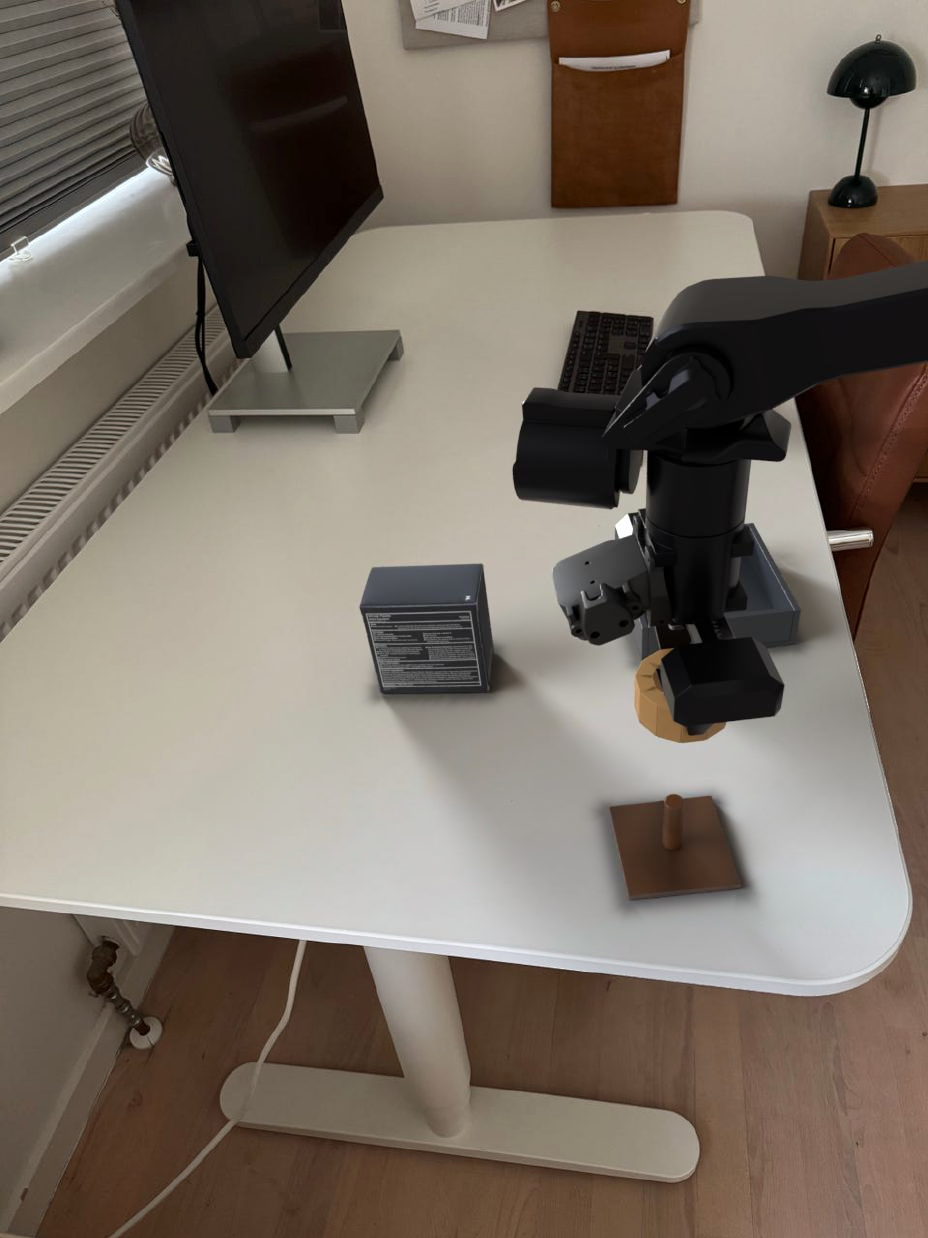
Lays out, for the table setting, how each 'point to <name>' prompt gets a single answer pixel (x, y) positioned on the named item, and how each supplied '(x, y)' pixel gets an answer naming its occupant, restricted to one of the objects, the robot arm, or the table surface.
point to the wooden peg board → (672, 847)
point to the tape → (661, 704)
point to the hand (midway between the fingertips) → (682, 698)
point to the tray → (748, 605)
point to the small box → (429, 628)
